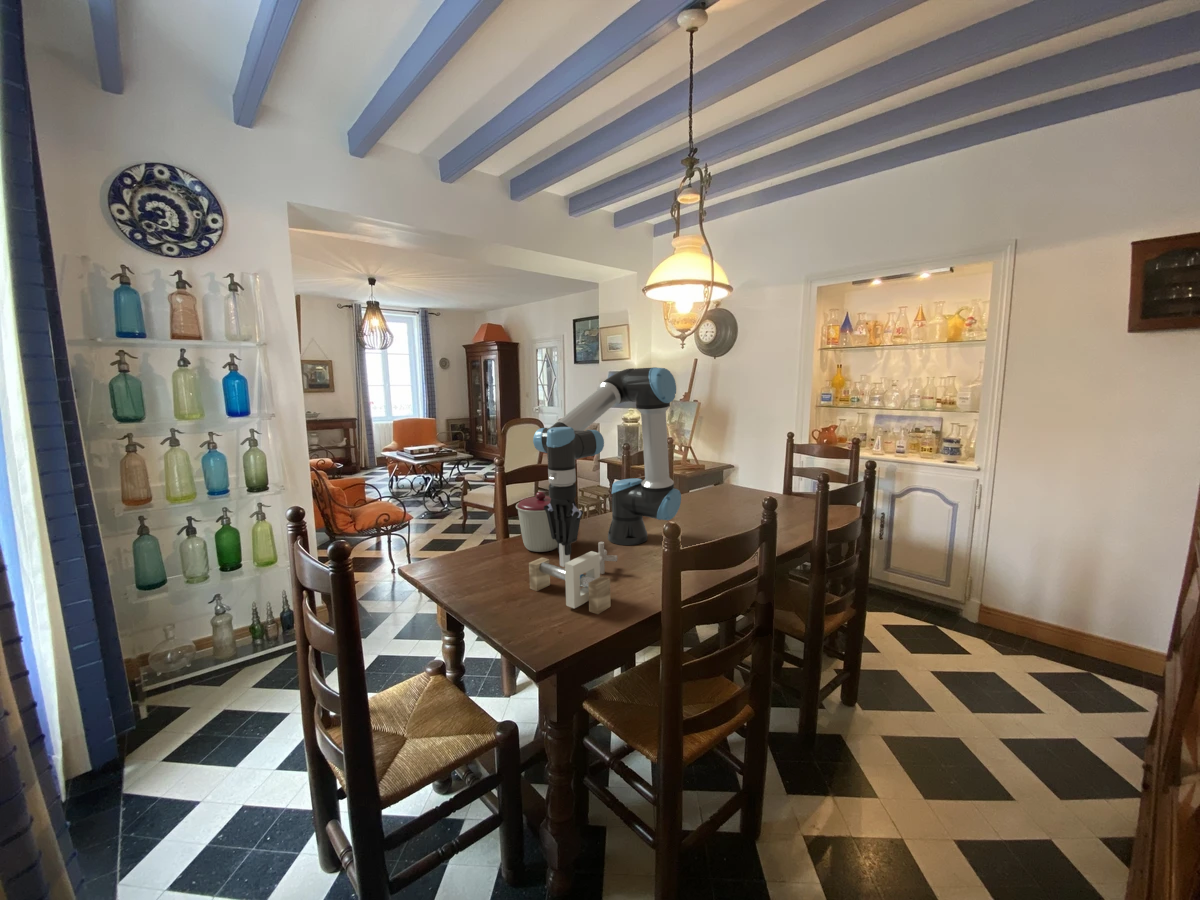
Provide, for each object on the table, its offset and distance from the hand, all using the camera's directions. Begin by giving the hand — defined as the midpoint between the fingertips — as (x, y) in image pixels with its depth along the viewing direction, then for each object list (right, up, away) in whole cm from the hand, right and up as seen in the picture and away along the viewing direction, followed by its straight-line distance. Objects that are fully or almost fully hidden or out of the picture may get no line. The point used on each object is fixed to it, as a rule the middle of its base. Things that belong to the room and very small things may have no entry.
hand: (564, 564), depth 135 cm
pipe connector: (+10, -7, +17) cm, 21 cm away
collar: (+5, -9, -3) cm, 11 cm away
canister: (-11, -4, +41) cm, 43 cm away
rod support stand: (+1, -9, +1) cm, 9 cm away
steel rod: (+1, -5, 0) cm, 5 cm away
